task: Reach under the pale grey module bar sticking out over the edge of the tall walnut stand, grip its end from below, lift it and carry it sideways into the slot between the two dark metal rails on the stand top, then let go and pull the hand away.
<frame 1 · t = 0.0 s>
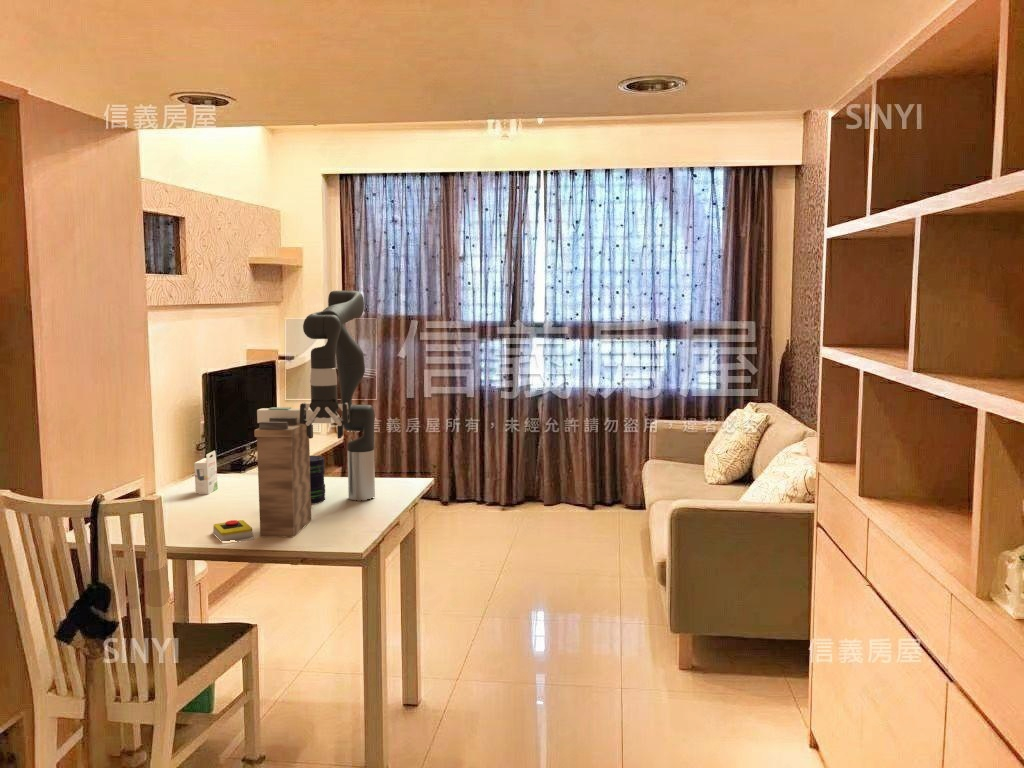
hand: (325, 438, 232), 29 cm above the table, tool pointing down, fingers open, 8 cm apart
dark blue cylinder: (311, 500, 276), on the table
tall stand: (286, 528, 242), on the table
emergency button: (233, 537, 235), on the table
module bar: (296, 422, 245), point 32 cm above the table, touching tall stand
ink box: (206, 492, 289), on the table
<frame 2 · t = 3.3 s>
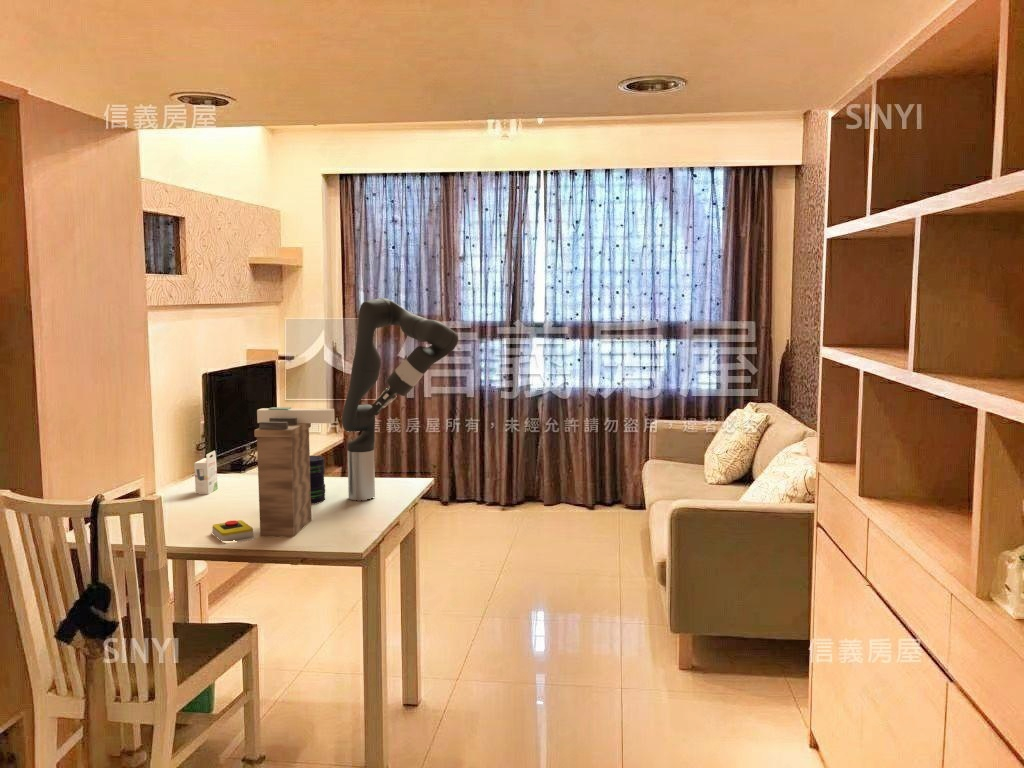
hand: (370, 415, 239), 35 cm above the table, tool tilted 45°, fingers open, 8 cm apart
nothing on the table moved.
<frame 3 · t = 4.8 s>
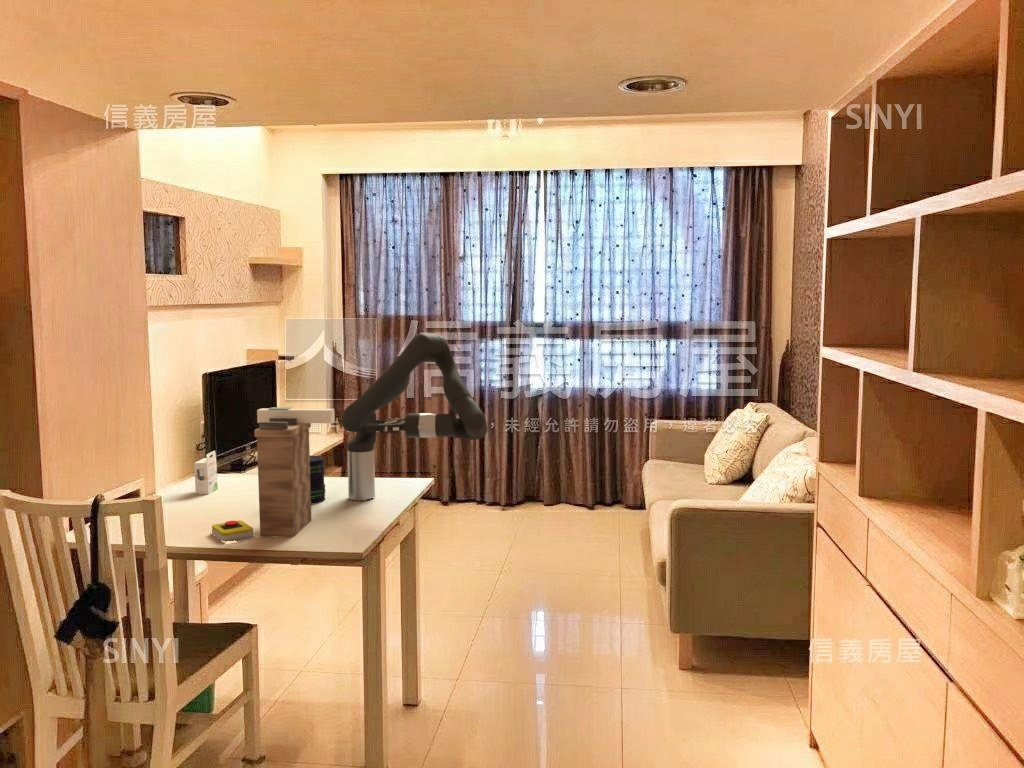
hand: (369, 425, 243), 31 cm above the table, tool horizontal, fingers open, 8 cm apart
nothing on the table moved.
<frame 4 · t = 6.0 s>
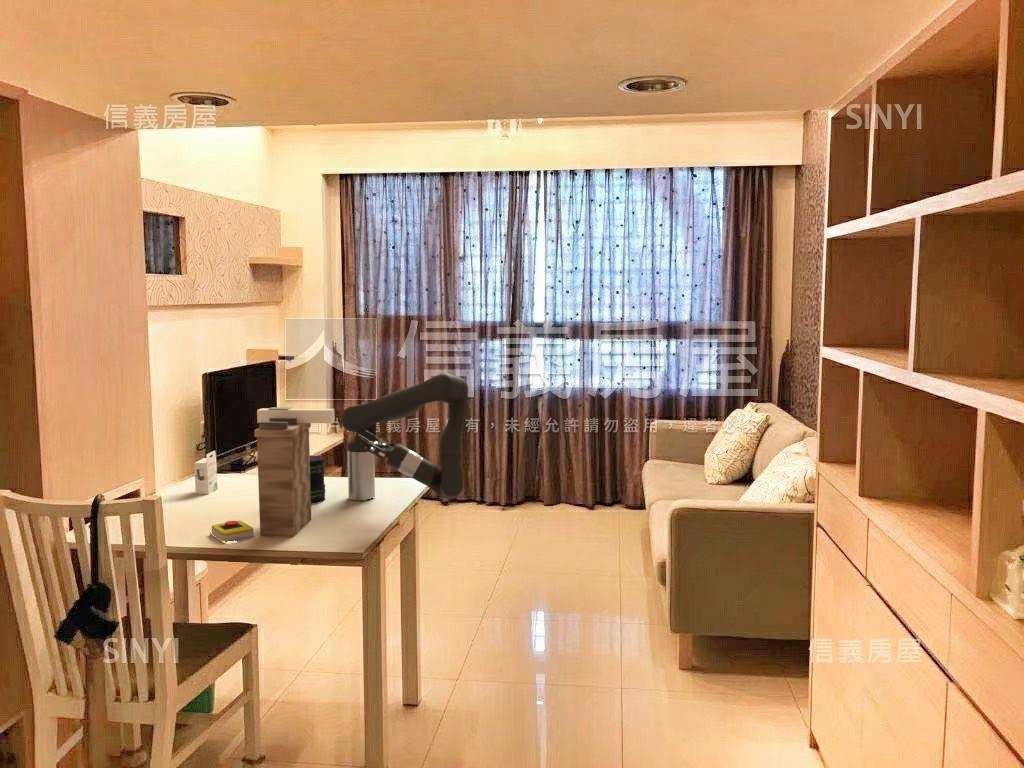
hand: (359, 435, 244), 28 cm above the table, tool pointing upward, fingers open, 8 cm apart
nothing on the table moved.
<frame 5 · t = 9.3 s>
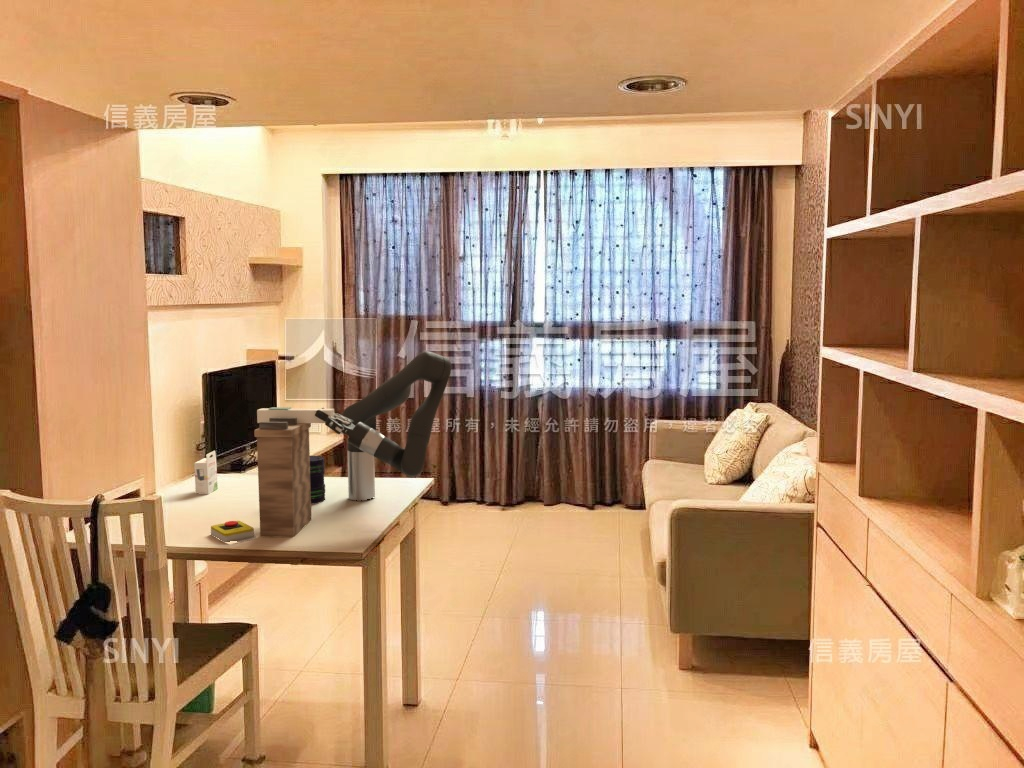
hand: (318, 411, 244), 35 cm above the table, tool pointing upward, fingers closed on module bar, 4 cm apart
module bar: (296, 422, 245), point 32 cm above the table, touching gripper, tall stand
everything else where it was.
when the fingers open (37 cm above the table, at t = 14.8 s): module bar drops 1 cm, resting on tall stand.
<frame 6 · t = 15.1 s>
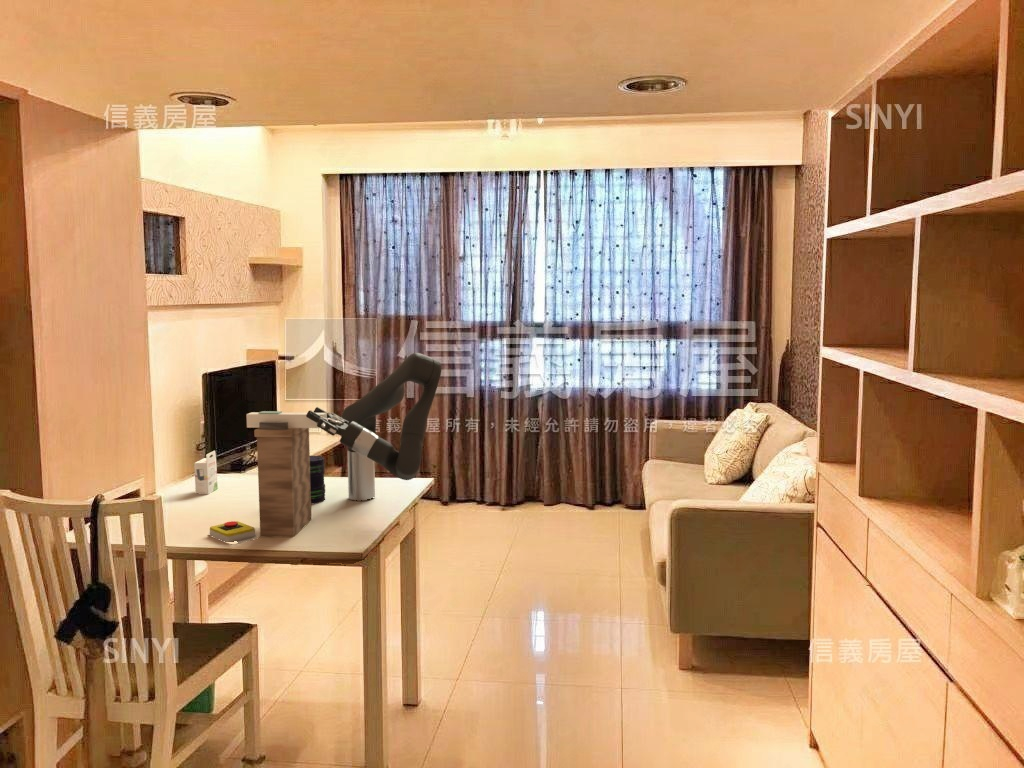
hand: (311, 411, 235), 37 cm above the table, tool pointing upward, fingers open, 6 cm apart
module bar: (287, 426, 236), point 32 cm above the table, touching tall stand
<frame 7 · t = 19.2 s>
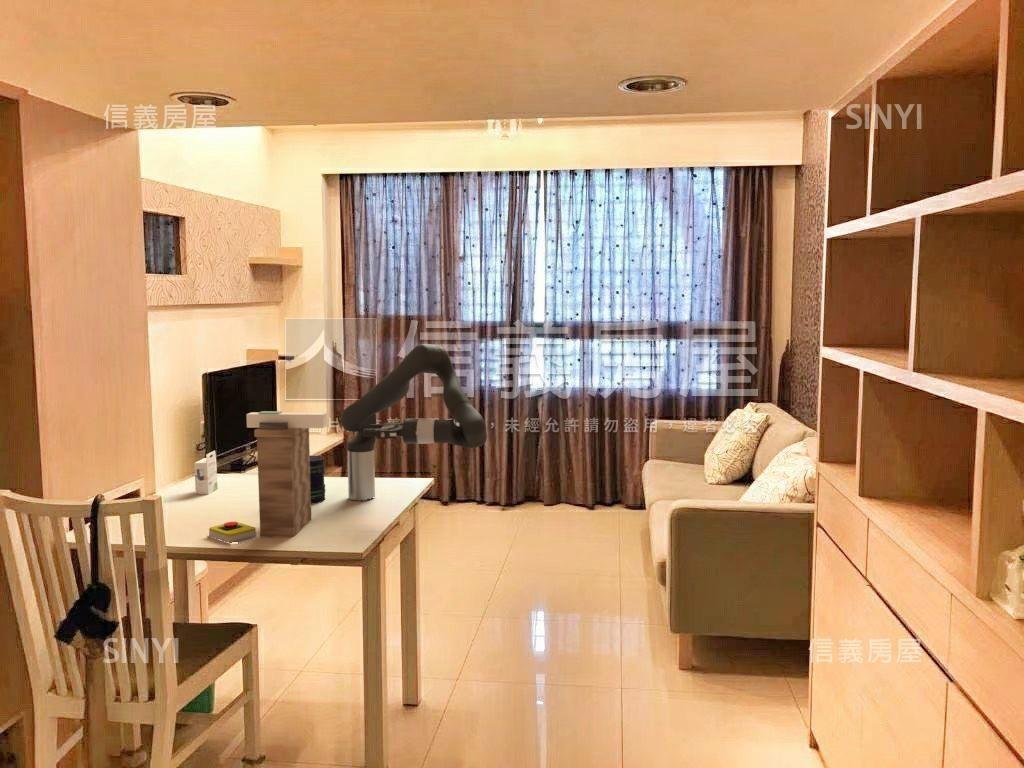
hand: (366, 430, 236), 31 cm above the table, tool horizontal, fingers open, 8 cm apart
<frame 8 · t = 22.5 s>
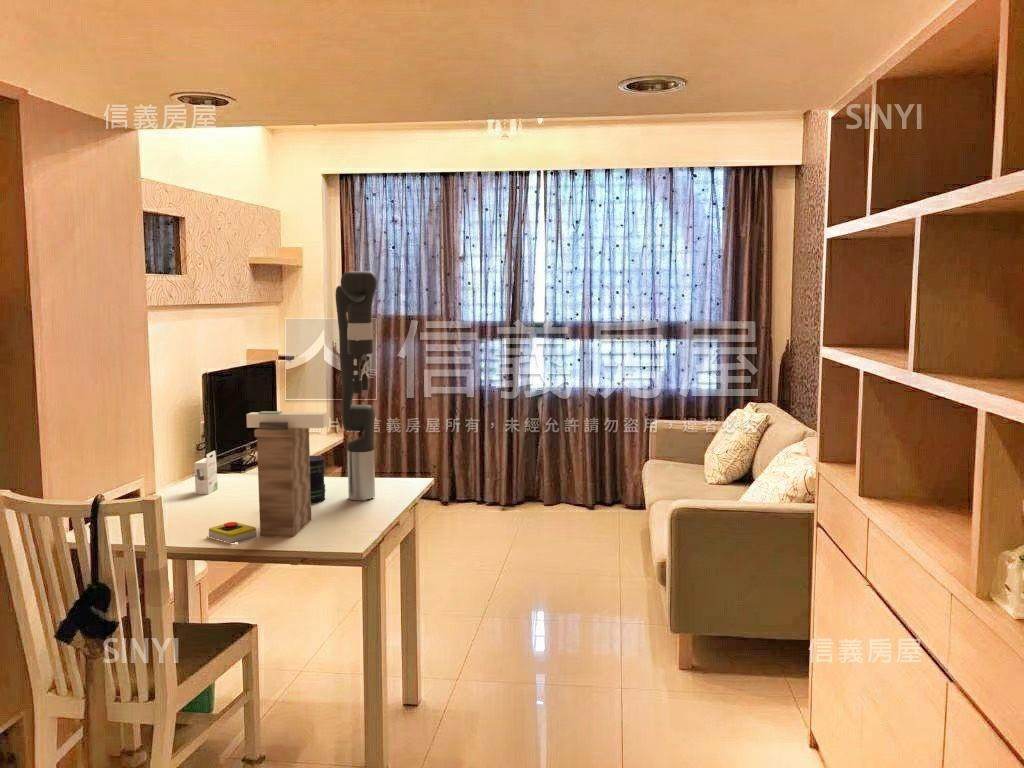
hand: (361, 391, 239), 42 cm above the table, tool pointing down, fingers open, 8 cm apart
at the end: module bar 0.1 cm from the target spot on the tall stand, point 32.0 cm above the tall stand's base; the gripper is holding nothing; module bar tilted 0° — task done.
